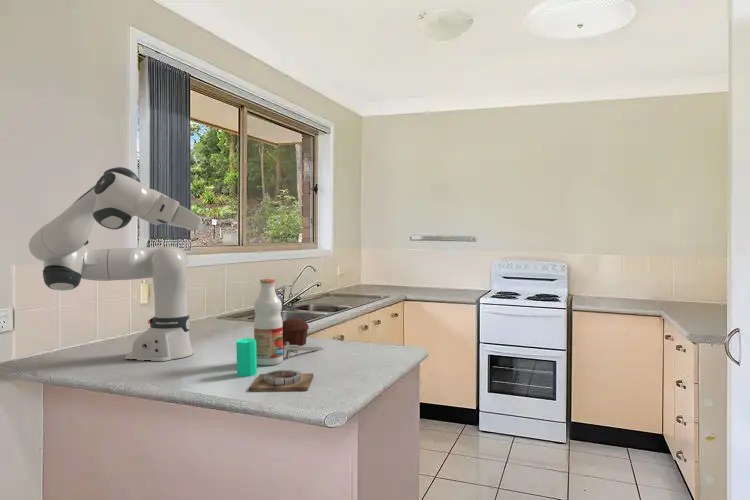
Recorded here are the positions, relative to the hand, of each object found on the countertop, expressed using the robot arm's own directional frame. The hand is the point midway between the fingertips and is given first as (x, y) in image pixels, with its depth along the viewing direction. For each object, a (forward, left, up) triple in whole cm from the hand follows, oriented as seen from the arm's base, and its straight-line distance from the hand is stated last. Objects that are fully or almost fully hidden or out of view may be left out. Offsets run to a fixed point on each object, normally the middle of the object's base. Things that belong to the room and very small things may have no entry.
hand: (199, 229), depth 156 cm
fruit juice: (+16, +18, -45) cm, 51 cm away
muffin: (+21, +47, -45) cm, 68 cm away
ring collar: (+26, -7, -45) cm, 52 cm away
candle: (+12, +4, -45) cm, 47 cm away
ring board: (+26, -7, -45) cm, 52 cm away
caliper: (+27, +30, -45) cm, 60 cm away
